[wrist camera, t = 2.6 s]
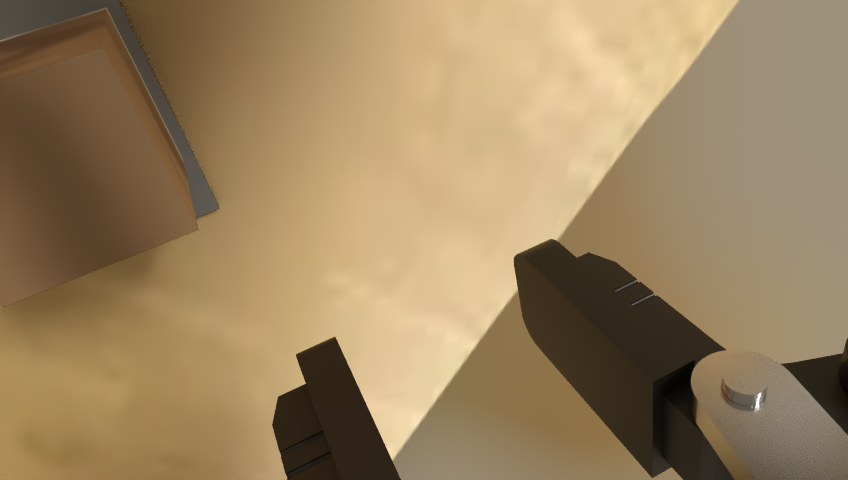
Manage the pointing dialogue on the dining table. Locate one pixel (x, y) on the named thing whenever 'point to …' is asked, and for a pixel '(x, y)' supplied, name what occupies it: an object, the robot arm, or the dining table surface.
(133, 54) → the placemat
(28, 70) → the walnut cube
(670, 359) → the robot arm
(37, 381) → the dining table surface
